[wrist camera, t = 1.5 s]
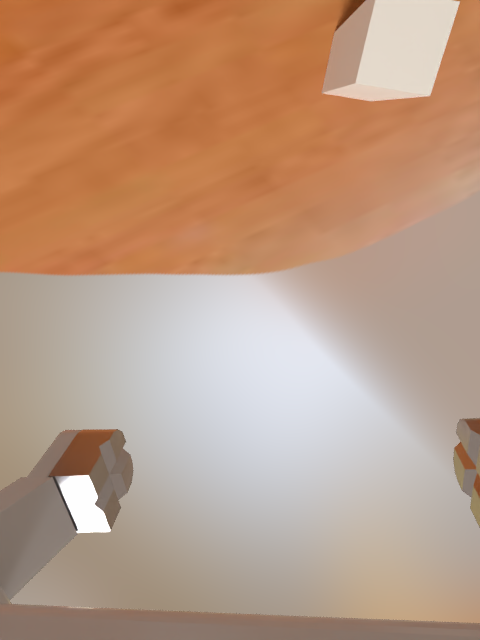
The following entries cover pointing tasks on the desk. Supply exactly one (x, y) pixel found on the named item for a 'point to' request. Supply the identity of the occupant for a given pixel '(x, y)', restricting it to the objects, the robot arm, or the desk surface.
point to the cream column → (389, 49)
